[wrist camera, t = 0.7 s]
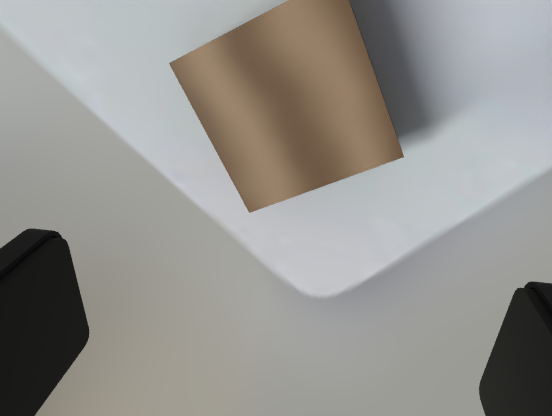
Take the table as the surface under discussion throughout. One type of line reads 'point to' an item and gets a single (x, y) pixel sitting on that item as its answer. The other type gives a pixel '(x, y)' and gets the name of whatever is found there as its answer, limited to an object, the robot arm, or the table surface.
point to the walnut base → (290, 101)
